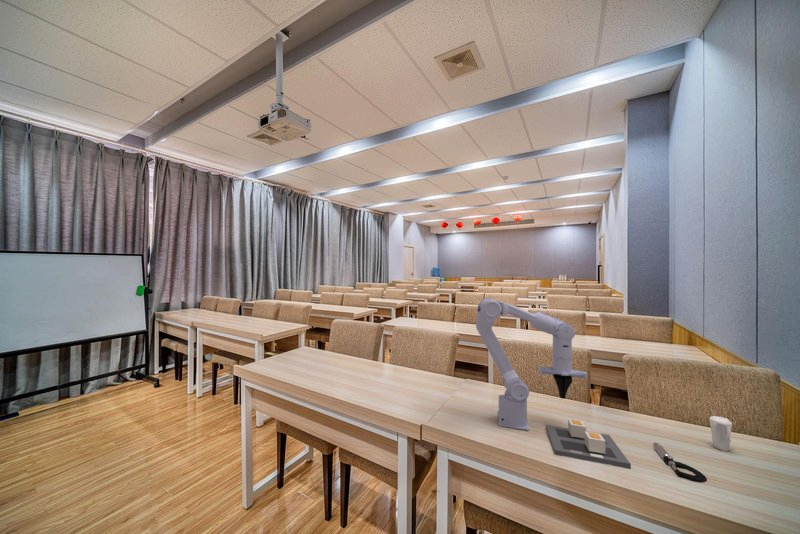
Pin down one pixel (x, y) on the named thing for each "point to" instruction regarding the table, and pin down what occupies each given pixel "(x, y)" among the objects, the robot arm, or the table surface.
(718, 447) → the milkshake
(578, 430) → the white orange block
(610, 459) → the switch plate
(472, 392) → the table surface
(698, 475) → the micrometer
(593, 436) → the white orange cube
